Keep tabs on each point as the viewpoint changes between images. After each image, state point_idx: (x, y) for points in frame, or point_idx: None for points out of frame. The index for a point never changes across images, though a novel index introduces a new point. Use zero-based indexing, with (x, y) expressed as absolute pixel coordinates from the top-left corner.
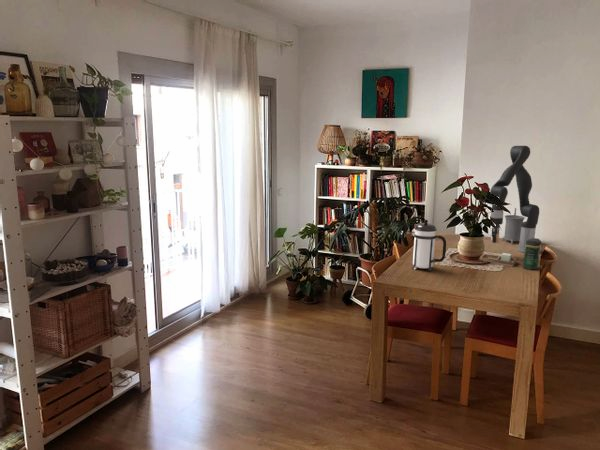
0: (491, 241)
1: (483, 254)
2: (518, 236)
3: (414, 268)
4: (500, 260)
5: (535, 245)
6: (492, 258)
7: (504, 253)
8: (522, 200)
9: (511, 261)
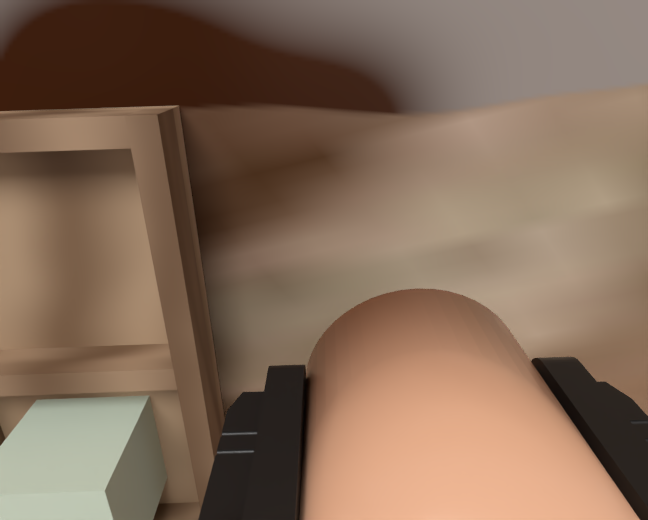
0: (344, 330)
1: (92, 128)
2: None
3: None
4: None
5: None
6: (149, 271)
7: (82, 514)
8: None
9: (189, 483)
